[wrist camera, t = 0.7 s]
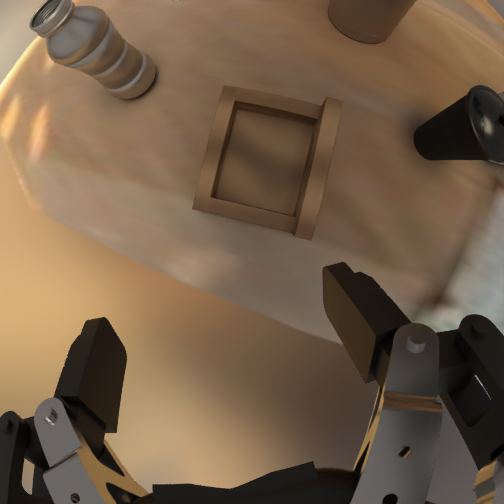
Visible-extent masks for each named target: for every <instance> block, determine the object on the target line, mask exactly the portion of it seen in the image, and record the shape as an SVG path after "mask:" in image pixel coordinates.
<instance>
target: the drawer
mask: <svg viewBox="0 0 504 504" xmlns="http://www.w3.org/2000/svg"><path fill="white" fill-rule="evenodd" d="M341 107H342V101H339V100H336V99H333V98H329V97H326V99H325V101H324V102H323V104H322V106H319V105H315V104H311V103H308V102H304V101H300V100H296V99H292V98H288V97H283V96H279V95H274V94H270V93H265V92H260V91H254V90H249V89H243V88H237V87H230V86H224V87H223V90H222V94H221V97H220V101H219V104H218V107H217V111H216V115H215V118H214V122H213V125H212V129H211V133H210V137H209V140H208V144H207V148H206V152H205V156H204V160H203V164H202V168H201V173H200V177H199V181H198V185H197V190H196V194H195V199H194V203H193V208H192V209H194V210H198V211H203V212H207V213H212V214H216V215H220V216H225V217H229V218H233V219H238V220H242V221H246V222H250V223H254V224H259V225H263V226H267V227H271V228H275V229H279V230H283V231H287V232H291V233H293V235H294V236H296V237H300V238H303V239H307V240H312V236H313V232H314V229H315V225H316V221H317V217H318V213H319V209H320V205H321V201H322V196H323V192H324V188H325V184H326V179H327V175H328V171H329V166H330V162H331V157H332V152H333V148H334V143H335V138H336V133H337V128H338V123H339V118H340V113H341Z"/></svg>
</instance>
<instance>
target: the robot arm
mask: <svg viewBox="0 0 504 504" xmlns="http://www.w3.org/2000/svg"><path fill="white" fill-rule="evenodd" d="M416 1H417V0H331V3H330V6H329V10H328V13H329V17H330V20H331V22H332V23H333V24H334V26H335V27H336V28H337V29H338V30H339V31H341V32H342V33H343V34H345V35H347V36H348V37H350V38H352V39H355V40H357V41H360V42H364V43H379V42H382V41H384V40H386V39H387V37H388V36H389V35H390V34H391V32H392V31H393V30H394V28H395V27H396V26H397V25H398V24H399V22H400V21H401V20H402V18H403V17H404V16H405V15H406V13H407V12H408V11H409V10H410V8H411V7H412V6H413V4H414V3H415V2H416ZM323 303H324V308H325V312H326V314H327V317H328V318H329V320H330V322H331V324H332V325H333V327H334V329H335V330H336V332H337V334H338V336H339V337H340V339H341V341H342V343H343V344H344V346H345V348H346V350H347V351H348V353H349V355H350V356H351V359H352V360H353V362H354V364H355V366H356V368H357V369H358V371H359V373H360V375H361V377H362V378H363V380H364V382H365V384H366V383H369V382H371V381H374V380H376V381H377V383H378V384H379V386H380V387H379V390H378V394H377V398H376V401H375V405H374V409H373V413H372V416H371V420H370V424H369V427H368V430H367V433H366V436H365V439H364V442H363V445H362V447H361V450H360V452H359V455H358V458H357V460H356V463H355V466H354V469H353V471H352V470H347V469H342V468H327V467H322V468H315V466H314V463H313V461H312V462H309V463H305V464H301V465H298V466H295V467H291V468H286V469H283V470H279V471H274V472H271V473H268V474H266V475H264V476H262V477H260V478H257V479H255V480H253V481H250V482H248V483H245V484H243V485H240V486H238V487H235V488H231V489H225V488H215V487H208V486H201V485H194V484H165V485H164V484H163V485H161V484H160V485H158V484H155V485H154V484H153V493H150V494H149V493H148V492H147V491H146V490H145V489H144V488H143V487H141V486H140V485H139V484H138V483H137V482H135V481H134V479H133V478H132V477H131V476H130V475H129V473H128V472H127V471H126V469H125V468H124V466H123V465H122V463H121V462H120V461H119V459H118V458H117V456H116V455H115V453H114V452H113V450H112V449H111V447H110V445H109V444H108V442H107V441H106V440H104V435H105V433H117V424H118V416H119V408H120V401H121V393H122V387H123V381H124V374H125V369H126V363H127V355H126V350H125V347H124V346H123V344H122V342H121V341H120V339H119V337H118V336H117V334H116V332H115V331H114V329H113V327H112V326H111V324H110V322H109V321H108V320H107V319H106V318H105V317H102V318H97V319H91V320H87V321H86V322H85V324H84V327H83V329H82V332H81V334H80V335H79V336H78V337H77V338H76V340H75V341H74V342H73V344H72V345H71V347H70V350H69V353H68V355H67V356H68V358H66V361H65V364H64V365H65V366H64V367H63V369H62V372H61V375H60V378H59V381H58V385H57V388H56V391H55V394H54V397H53V398H48V399H46V400H44V401H43V402H42V403H41V404H40V405H39V406H38V408H37V409H36V412H35V415H34V416H33V417H29V418H26V419H22V418H21V417H19V416H18V415H17V414H16V413H15V412H13V411H8V412H6V413H4V414H3V415H2V416H1V417H0V504H435V503H432V502H429V501H426V497H427V494H428V490H429V486H430V482H431V478H432V474H433V470H434V465H435V460H436V455H437V449H438V443H439V438H440V431H441V423H442V414H443V408H442V404H441V403H438V402H437V395H440V397H441V399H442V400H443V402H444V404H445V406H446V408H447V409H448V411H449V413H450V415H451V417H452V418H453V420H454V422H455V424H456V426H457V428H458V429H459V431H460V433H461V435H462V437H463V439H464V441H465V443H466V445H467V447H468V449H469V451H470V453H471V455H472V457H473V459H474V461H475V463H476V465H477V468H478V470H479V473H478V475H477V477H476V480H475V485H474V486H473V493H474V494H475V495H476V503H475V504H504V336H503V334H502V333H501V332H500V331H499V330H498V329H497V327H496V326H495V325H494V324H493V323H492V322H491V321H490V320H489V319H488V318H486V317H484V316H482V315H477V314H472V315H468V316H466V317H464V318H463V319H462V321H461V323H460V326H459V328H458V329H456V330H450V331H444V332H437V333H435V332H434V331H433V330H432V329H431V328H430V327H428V326H426V325H423V324H419V323H411V321H410V320H409V319H408V318H407V317H406V316H405V314H404V313H403V312H402V311H401V310H400V309H399V307H398V306H397V305H396V304H395V303H394V302H393V300H392V299H391V298H390V297H389V296H387V294H386V293H385V291H384V290H383V289H381V288H380V286H379V285H378V284H377V282H376V281H375V280H374V279H373V278H372V277H370V276H368V275H366V274H364V273H362V272H357V273H354V272H353V271H352V270H351V269H350V267H349V266H348V265H347V264H346V263H345V262H340V263H337V264H333V265H329V266H326V267H324V268H323ZM475 375H476V376H477V377H478V378H479V380H480V381H481V383H482V384H483V386H484V387H485V389H486V391H487V392H488V394H489V395H490V398H491V400H490V398H489V397H488V395H487V394H486V392H485V390H484V389H483V387H482V386H481V384H480V383H479V381H478V380H477V378H476V377H475ZM24 458H25V459H27V460H28V461H30V462H31V463H33V464H34V465H35V468H34V477H33V488H32V495H30V494H28V493H27V492H26V491H25V490H24V488H23V486H22V472H23V464H24Z"/></svg>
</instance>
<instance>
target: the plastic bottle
mask: <svg viewBox="0 0 504 504" xmlns="http://www.w3.org/2000/svg"><path fill="white" fill-rule="evenodd" d="M30 28H31V29H32V30H33V31H35V32H37V34H38V35H39V36H41V37H43V38H44V37H46V46H47V52H48V55H49V56H50V58H51V59H52V60H53V61H54V62H55V63H58V64H60V65H63V66H67V67H70V68H73V69H77V70H79V71H81V72H83V73H85V74H88V75H90V76H92V77H94V78H95V79H96V80H97V81H98V82H100V83H101V84H102V85H103V86H104V87H105V89H106V90H107V91H108V92H109V93H110V94H111V95H113V96H115V97H117V98H121V99H131V98H135V97H137V96H139V95H141V94H142V93H144V92H145V91H146V90H147V89H148V88H149V87H150V85H151V84H152V82H153V80H154V77H155V73H156V70H155V66H154V64H153V62H152V59H151V58H150V57H149V56H147V55H146V54H144V53H143V52H141V51H139V50H137V49H136V48H134V47H133V46H132V45H130V44H129V43H128V42H126V40H125V39H124V38H123V37H122V36H121V35H120V33H119V32H118V31H117V29H116V28H115V26H114V25H113V23H112V21H111V20H110V18H109V17H108V15H107V14H106V13H105V12H104V11H103V10H102V9H100V8H97V7H94V6H77V7H75V4H74V3H73V2H72V1H71V0H47V1H46V2H45V3H44V4H43V5H42V6H41V7H40V8H39V9H38V10H37V11H36V13H35V14H34V16H33V17H32V19H31V22H30Z"/></svg>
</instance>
